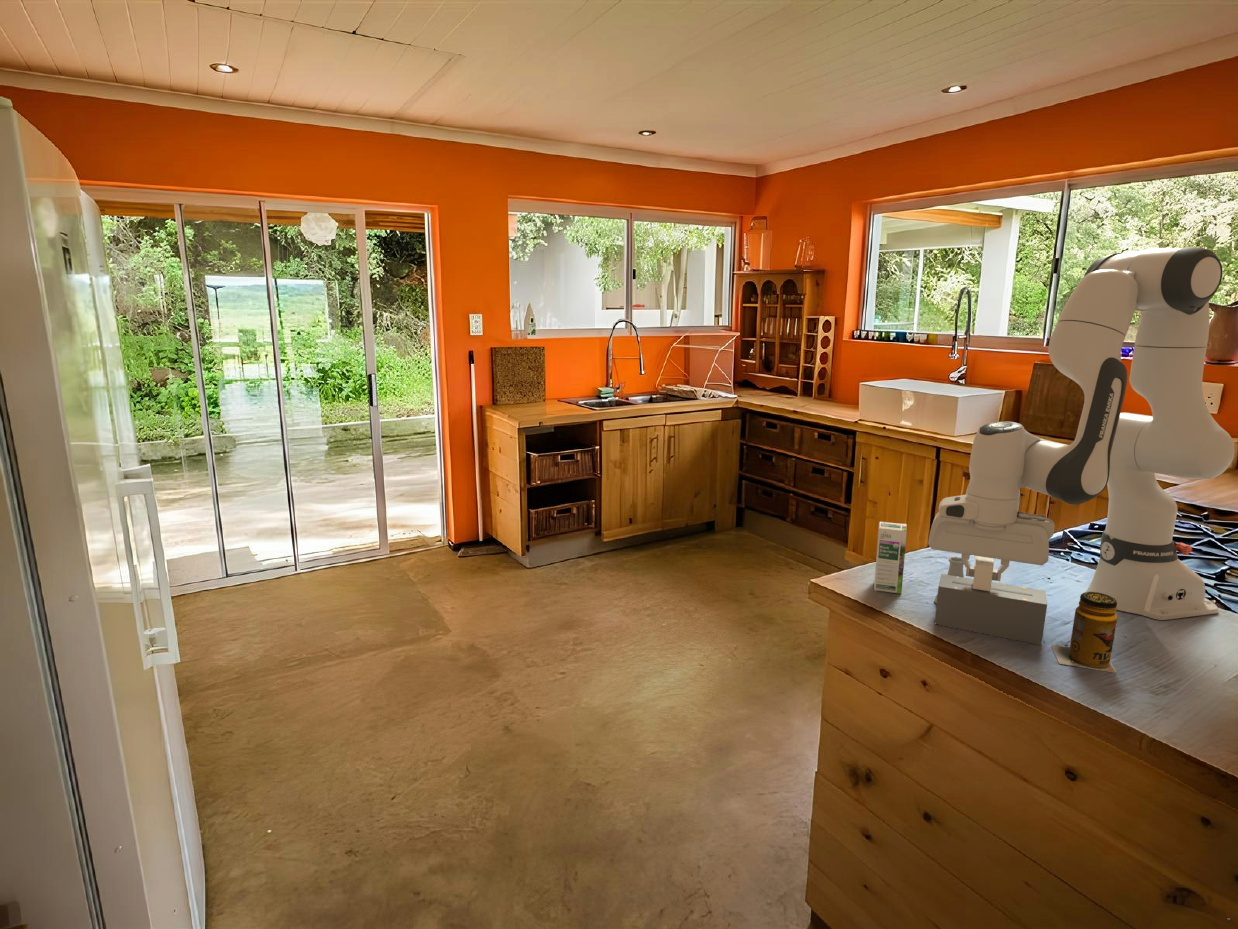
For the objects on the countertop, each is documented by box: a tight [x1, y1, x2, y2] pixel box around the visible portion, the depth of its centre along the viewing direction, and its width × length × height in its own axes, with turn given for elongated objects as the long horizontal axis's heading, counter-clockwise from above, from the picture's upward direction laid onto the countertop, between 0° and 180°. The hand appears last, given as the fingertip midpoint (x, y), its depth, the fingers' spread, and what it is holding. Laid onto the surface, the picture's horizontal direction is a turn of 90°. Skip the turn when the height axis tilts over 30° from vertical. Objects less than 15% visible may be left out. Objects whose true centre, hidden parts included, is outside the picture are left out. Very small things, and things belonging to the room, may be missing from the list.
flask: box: [933, 556, 965, 605], centre depth 143 cm, size 7×7×10 cm
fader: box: [973, 556, 995, 591], centre depth 132 cm, size 3×5×5 cm, turn 151°
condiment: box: [1051, 591, 1118, 673], centre depth 120 cm, size 7×8×12 cm
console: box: [934, 573, 1048, 646], centre depth 133 cm, size 18×7×8 cm, turn 61°
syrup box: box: [873, 521, 908, 595], centre depth 151 cm, size 6×6×14 cm
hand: (982, 577), depth 132 cm, fingers closed on fader, 3 cm apart
